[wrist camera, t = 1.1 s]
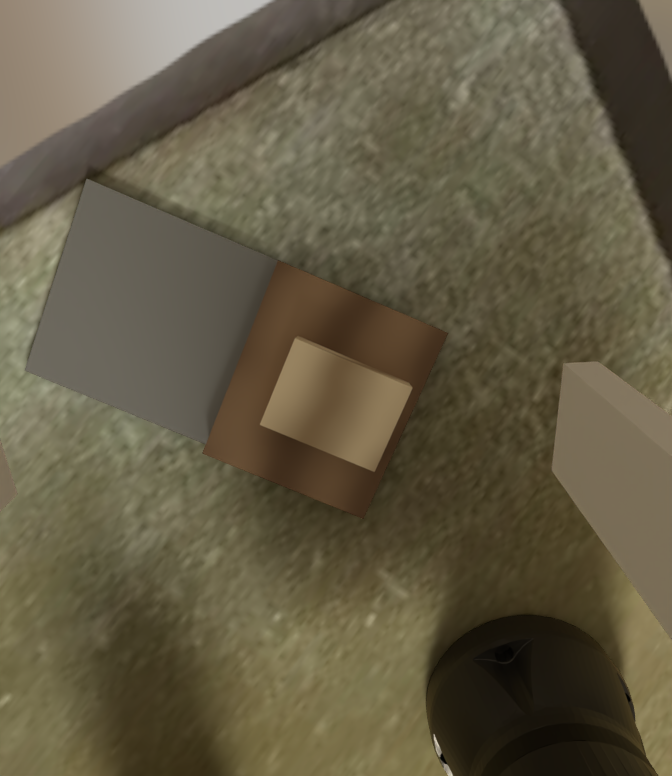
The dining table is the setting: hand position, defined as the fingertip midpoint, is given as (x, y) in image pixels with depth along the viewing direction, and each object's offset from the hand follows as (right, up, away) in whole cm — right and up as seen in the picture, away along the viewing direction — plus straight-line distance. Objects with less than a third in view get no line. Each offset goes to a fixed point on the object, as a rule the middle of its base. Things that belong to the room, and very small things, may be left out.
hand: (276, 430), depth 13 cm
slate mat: (-12, +6, +26) cm, 29 cm away
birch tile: (+1, 0, +24) cm, 24 cm away
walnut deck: (0, +1, +26) cm, 26 cm away
